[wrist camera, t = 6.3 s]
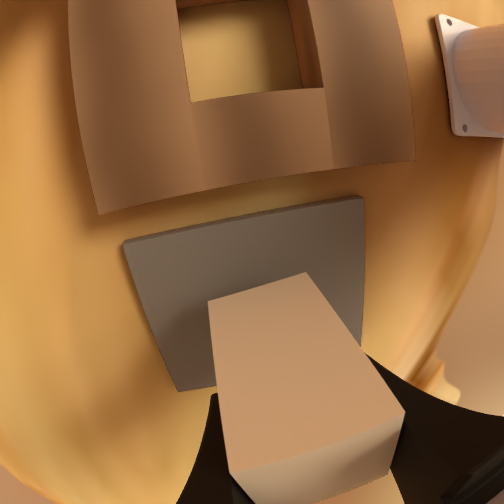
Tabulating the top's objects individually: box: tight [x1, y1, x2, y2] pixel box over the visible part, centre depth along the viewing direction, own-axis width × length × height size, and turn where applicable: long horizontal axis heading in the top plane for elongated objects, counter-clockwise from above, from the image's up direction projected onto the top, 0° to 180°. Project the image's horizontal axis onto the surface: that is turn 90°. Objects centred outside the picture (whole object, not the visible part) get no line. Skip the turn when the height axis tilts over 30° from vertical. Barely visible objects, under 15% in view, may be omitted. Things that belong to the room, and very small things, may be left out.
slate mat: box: [122, 195, 365, 392], centre depth 17 cm, size 12×10×1 cm
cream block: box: [208, 272, 405, 504], centre depth 10 cm, size 4×4×8 cm
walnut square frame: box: [68, 0, 416, 215], centre depth 11 cm, size 14×12×2 cm
